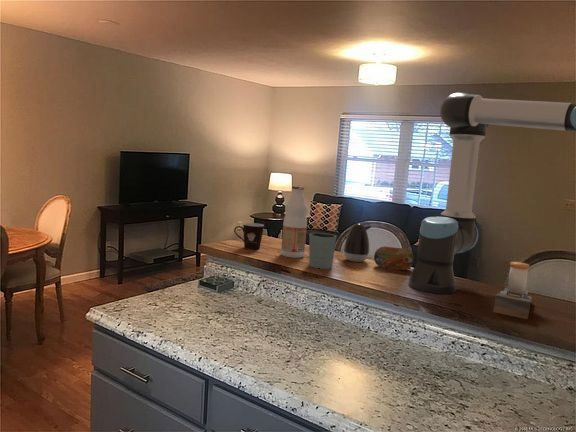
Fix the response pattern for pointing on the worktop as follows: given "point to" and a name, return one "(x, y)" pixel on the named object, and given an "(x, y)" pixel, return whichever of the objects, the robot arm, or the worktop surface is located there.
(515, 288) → the knob
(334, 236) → the green tapered cup
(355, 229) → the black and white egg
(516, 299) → the knob mount
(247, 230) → the coffee mug
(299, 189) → the fruit juice
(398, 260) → the tin
